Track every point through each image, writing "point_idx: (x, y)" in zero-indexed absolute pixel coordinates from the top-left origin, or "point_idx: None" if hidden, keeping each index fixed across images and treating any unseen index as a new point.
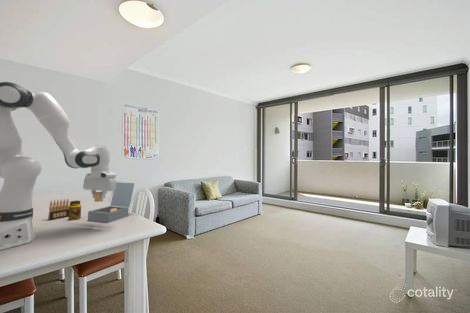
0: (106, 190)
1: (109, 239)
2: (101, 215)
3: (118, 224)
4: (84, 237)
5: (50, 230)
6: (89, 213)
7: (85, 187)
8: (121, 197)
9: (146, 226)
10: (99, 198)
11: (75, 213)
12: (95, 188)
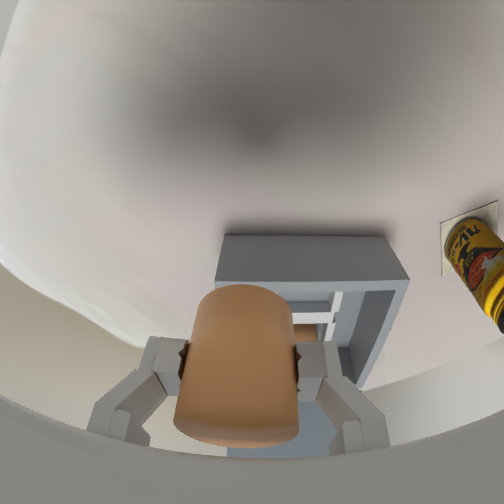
0: (16, 409)
1: (17, 75)
2: (282, 268)
3: (168, 252)
4: (132, 16)
5: (451, 60)
6: (393, 270)
7: (498, 443)
8: (298, 444)
9: (43, 264)
10: (194, 333)
11: (477, 253)
12: (251, 490)
